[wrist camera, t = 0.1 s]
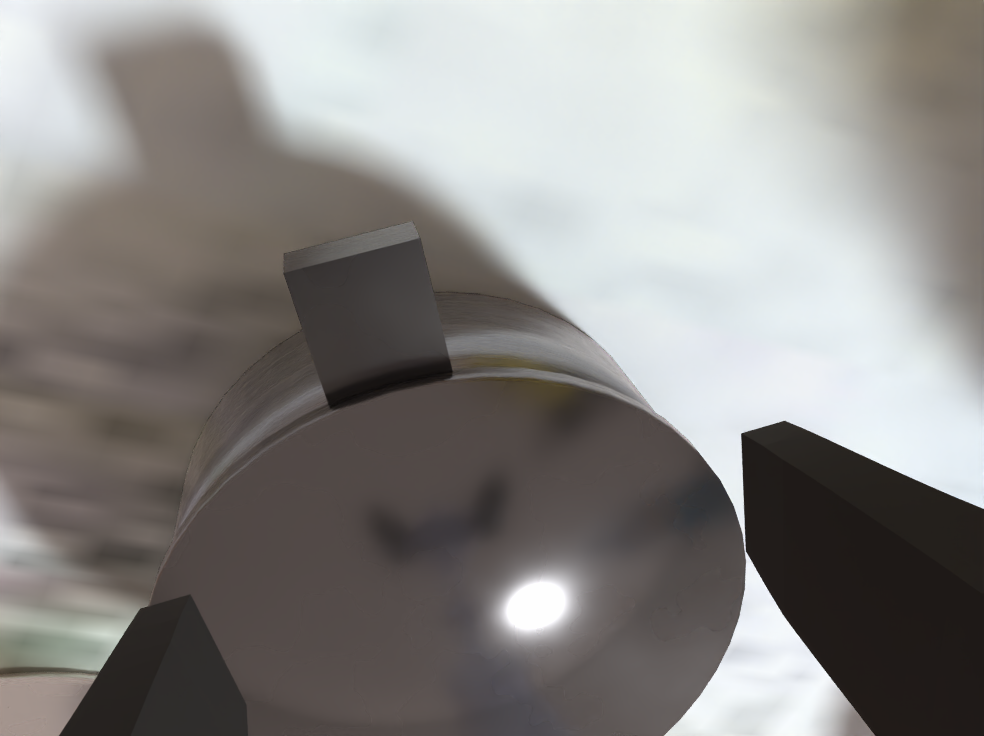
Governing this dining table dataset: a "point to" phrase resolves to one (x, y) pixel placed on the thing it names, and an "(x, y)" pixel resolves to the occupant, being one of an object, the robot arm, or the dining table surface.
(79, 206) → the dining table surface
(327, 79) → the dining table surface
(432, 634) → the cooking pot
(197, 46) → the dining table surface
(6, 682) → the lid
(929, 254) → the dining table surface
